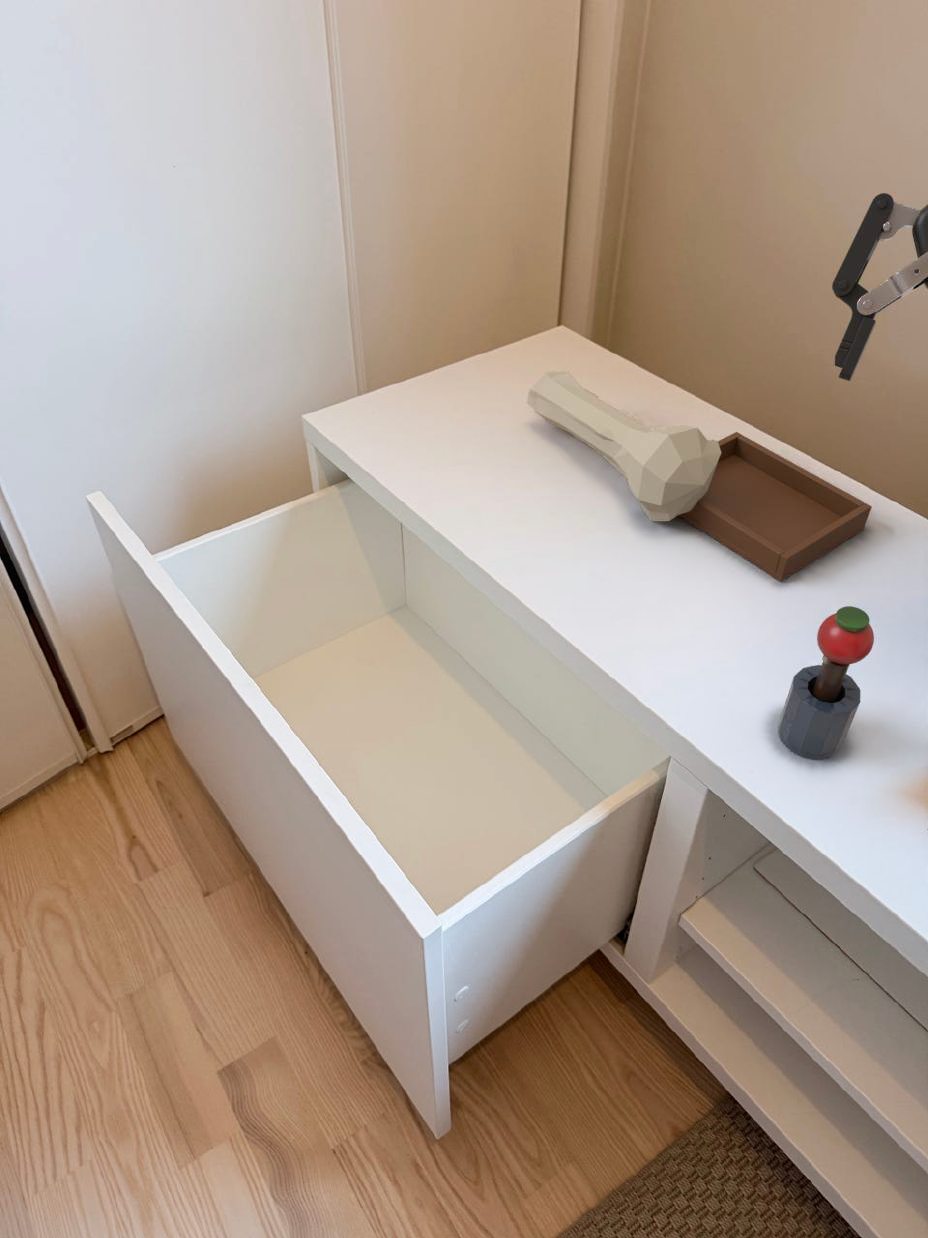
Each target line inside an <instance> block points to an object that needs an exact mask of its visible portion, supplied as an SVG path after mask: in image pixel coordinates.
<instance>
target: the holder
mask: <svg viewBox="0 0 928 1238" xmlns="http://www.w3.org/2000/svg"><path fill="white" fill-rule="evenodd" d="M821 666H822V664H816V665H811V666H805V667H803V668H801V669H800V670H799V671H798V672H797V673H795V675H794V676H793V677H792V681H791V684H790V687H789V689H788V693H787V695H786V700H785V701H784V705H783V708H782V711H781V714H780V717H779V723H778V727H777V732H778V736H779V740H780V741H781V742H782V745H784V746H785V748H787V749H788V750H789V751H790V752H791V753H793V754H795V755H797V756H799V757H802V758H803V759H804V758H805V759H807V760H815V761H817V760H827V759H829V758H832V757H834V756H835V755H836V754H837V753H838V752H839V751H840V749H841V748H842V746H843V745H844V743H845V740H846V738H847V735H848V734H849V731H850V728H851V725H852V723H853V722H854V719H855V716H856V714H857V711H858V709H859V706H860V704H861V688H860V687H859V686H858V683H856V681H855V680H854V678H853V677H852V676H850V675H849V674H847V673H846V675H845V678H844V680H843V683H842V685H841V688H840V691H839V693H838V696H837V699H836V701H835V703H827V702H822V701H820V700H818V699H816V698H815V697H813V696H812V695H811V694H812V691H813V688H814V686H815V683H816V680H817V677H818V674H819V671H820V669H821Z"/></svg>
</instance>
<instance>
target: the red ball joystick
mask: <svg viewBox="0 0 928 1238" xmlns="http://www.w3.org/2000/svg"><path fill="white" fill-rule="evenodd" d="M870 619H871V618H870V616H869V614H868V613H867V612H866V611H864V610H863V609H861V608H859V607H857V606H851V605H850V606H849V605H848V606H842V607H840V608H839V609H838V610H837V611H836V612H835V613H833V614H830V615H829V616H828V617H826V618H825V619H824V620H823V621H822V622H821V624H820V626H819V627H818V630H817V634H816V635H817V636H816V641H817V642H816V643H817V646H818V648H819V650H820V652H821V653H822V658H821V660H822V663H821V665H822V666H821V669H820V671H819V674H818V677H817V680H816V683H815V686H814V688H813V691H812V694H811V695H812V696H813V697H815V698H816V699H818V700H820V701H822V702H827V703H835V701H836V699H837V696H838V693H839V691H840V688H841V685H842V683H843V680H844V678H845V675H846V674H847V672H848V669H849V667H850V665H854V664H856V663H859V662H861V661H863V660H864V659H865V658H866V657H868V656H869V654H870V653H871V651H872V649H873V646H874V642H875V635H874V634H875V633H874V630H873V627H872V625H871V624H870V621H871V620H870Z"/></svg>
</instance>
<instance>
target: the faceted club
mask: <svg viewBox="0 0 928 1238" xmlns="http://www.w3.org/2000/svg"><path fill="white" fill-rule="evenodd" d="M526 405H528V406H529V407H531V408H532V409H533V411H534V412H535V413H536V414H538V415H539V416H540V417H541V418H543V420H545V421H546V422H548V423H549V424H551V425H553V426H555V427H557V428H559V429H561V430H563V431H565V432H568V433H569V434H571V435H572V436H573V437H575V438H577V439H578V440H580V441H581V442H583V443H584V444H586V445H588V446H589V447H590V448H592V449H593V450H595V451H596V452H598V453H599V454H600V455H601V456H602V457H603V458H604V459H605V460H606V461H608V463H610V465H612V467H614V468H615V469H616V470H617V471H618V472H619V473H620V474H621V475H622V476H623V477H624V478H625V479H626V480H627V482H628V486H629V490H630V491H631V492H632V494H633V495H634V497H635V498H636V499H637V501H638V502H639V505H640V507H641V509H642V511H643V512H644V514H646V516H647V517H648V519H649V520H650V522H670V521H672V520H673V519H675V518H676V517H678V515H680V514H683V513H686V512H689V511H691V510H692V509H693V508H694V506H695V505H696V503H697V501H699V500H700V499H701V498H702V497H703V496H704V495H705V493H706V492H707V490H708V488H709V485H710V482H711V480H712V477H713V474H714V471H715V469H716V466H717V463H718V461H719V458H720V455H721V450H720V447H719V444H718V441H719V440H716V439H715V440H714V439H707V437H706V436H705V435H704V434H703V433H702V431H701V430H700V429H699V428H698V427H696V426H691V425H684V424H681V425H680V424H679V425H674V426H669V427H668V426H667V427H663V428H654V429H653V428H651V427H649V426H647V425H645V424H644V423H642V422H640V421H639V420H637V419H635V418H633V417H632V416H630V415H629V414H627V413H625V412H624V411H621V410H620V409H618V408H617V407H615V406H613V405H611V404H610V403H608V402H606V401H605V400H603V399H601V398H600V397H599V396H598V395H596V394H595V393H593V392H592V391H590V390H588V389H586V388H584V387H583V385H582V384H581V383H580V382H579V381H578V380H577V378H575V376H574V375H573V374H572V373H571V372H570V371H569V370H565V371H562V370H561V371H548V372H545V373H544V374H543V375H542V376H541V377H540V378H539V379H538V380H537V381H536V382H535V383H534V384H533V385H532V386H531V388H529V390H528V393H527V399H526Z"/></svg>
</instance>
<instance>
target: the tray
mask: <svg viewBox="0 0 928 1238" xmlns="http://www.w3.org/2000/svg"><path fill="white" fill-rule="evenodd" d="M717 441H718V444H719V447H720V450H721V455H720V458H719V461H718V463H717V466H716V469H715V471H714V474H713V477H712V480H711V482H710V485H709V488H708V490H707V492H706V493H705V495H704V496H703V497H702V498H701V499H700V500H699V501H697V503H696V505H695V506H694V508H693V509H692V510H691V511H689V512H686V513H683V514H680V515H677V517H680V518H682V519H684V521H686V522H688V523H689V524H691V525H692V526H693V527H695V528H697V529H698V530H700V531H702V532H703V533H705V534H706V535H708V536H709V537H711V539H714V540H715V541H717V542H719V544H722V545H723V546H724V547H726V548H728V549H729V550H731V551H732V552H734V553H735V554H737V555H738V556H740V557H742V558H743V559H745V560H746V561H747V562H749V563H751V564H752V565H754V566H755V567H757V568H758V569H760V570H761V571H763V572H765V573H766V574H768V575H769V576H771V577H772V578H774V579H775V580H777V581H779V583H782V582H783V581H784V580H785V581H786V580H787V579H789V578H790V577H791V576H793V575H795V574H796V573H798V572H799V571H801V570H802V569H804V568H806V567H807V566H809V565H810V564H811V563H814V562H815V561H817V560H818V559H820V558H821V557H823V556H825V555H826V554H828V553H829V552H830V551H831V552H832V551H833V550H834V549H835V548H837V547H838V546H840V545H842V544H843V543H845V542H846V541H849V539H851V538H853V537H854V536H856V535H858V534H859V533H860V532H862V531H864V530H865V528H866V524H867V522H868V518H869V516H870V513H871V511H872V505H870V504H868V503H867V502H864V501H863V500H861V499H859V498H858V497H855V496H854V495H852V494H850V493H848V492H847V491H845V490H844V489H843V490H842V489H841V488H840V487H837V486H836V485H834V484H832V483H831V482H829V481H827V480H825V479H823V478H821V477H819V476H817V475H816V474H814V473H812V472H810V471H808V470H806V469H805V468H803V467H801V466H799V465H798V464H795V463H794V462H792V461H791V460H788V459H787V458H785V457H783V456H781V455H779V454H777V453H776V452H774V451H773V450H770V449H769V448H767V447H765V446H763V445H761V444H760V443H757V442H755V440H752V439H751V438H749V437H747V436H745V435H743V434H741V433H740V432H738V431H735V432H733V433H731V434H729V435H727V436H725V437H723V438H722V439H720V440H717Z"/></svg>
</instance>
